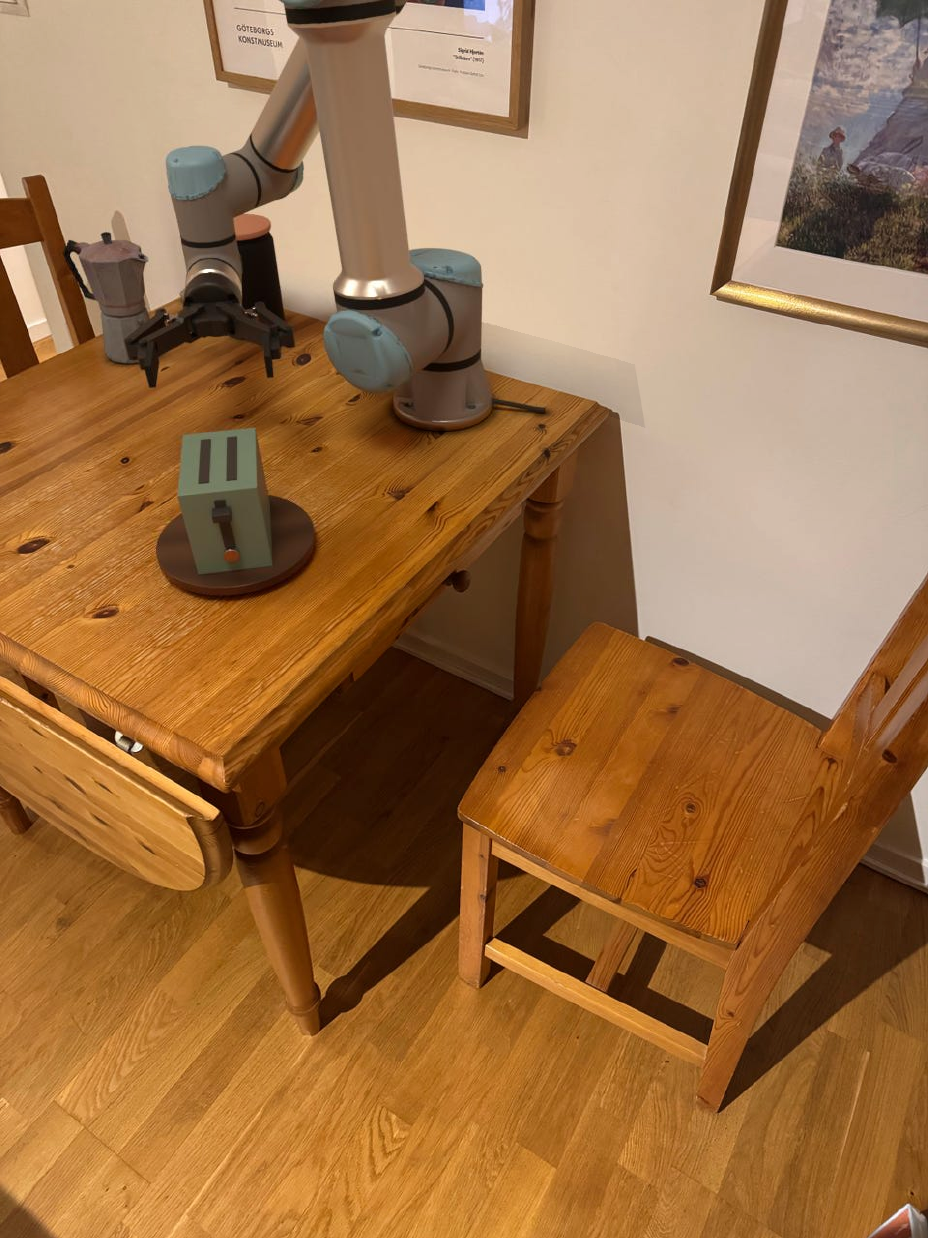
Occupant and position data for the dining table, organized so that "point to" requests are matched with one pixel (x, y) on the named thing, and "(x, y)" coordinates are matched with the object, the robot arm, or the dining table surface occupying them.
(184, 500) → the toaster
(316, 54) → the robot arm
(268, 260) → the coffee jar
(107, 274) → the moka pot
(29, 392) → the dining table surface
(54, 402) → the dining table surface
